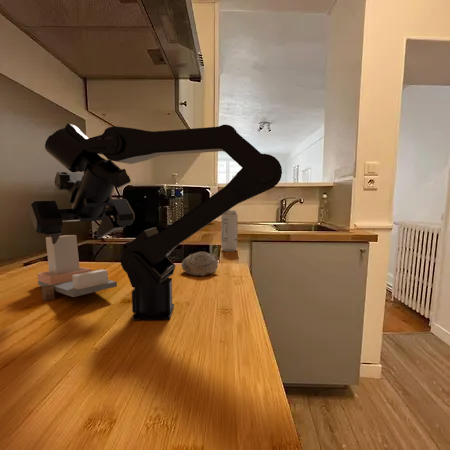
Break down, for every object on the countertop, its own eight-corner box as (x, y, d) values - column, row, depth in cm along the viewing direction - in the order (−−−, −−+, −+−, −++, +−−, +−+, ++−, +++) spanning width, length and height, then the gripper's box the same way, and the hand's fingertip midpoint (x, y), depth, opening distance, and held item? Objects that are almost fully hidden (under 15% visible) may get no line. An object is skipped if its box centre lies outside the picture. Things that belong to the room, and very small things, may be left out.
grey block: (80, 277, 71) (76, 235, 71) (57, 282, 68) (53, 237, 67) (72, 275, 75) (68, 235, 74) (49, 279, 71) (45, 237, 71)
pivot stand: (105, 286, 71) (105, 276, 71) (46, 301, 62) (45, 289, 62) (100, 284, 73) (100, 274, 73) (42, 298, 64) (41, 287, 63)
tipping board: (116, 286, 63) (115, 269, 63) (73, 297, 57) (71, 278, 57) (77, 277, 78) (75, 263, 77) (38, 284, 71) (36, 269, 71)
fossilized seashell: (172, 267, 83) (181, 243, 84) (193, 271, 92) (201, 249, 93) (203, 280, 78) (213, 254, 78) (222, 283, 87) (230, 260, 88)
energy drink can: (239, 251, 112) (239, 211, 110) (223, 252, 111) (223, 211, 109) (234, 248, 118) (235, 210, 116) (219, 249, 117) (219, 210, 115)
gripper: (126, 161, 66) (104, 209, 75) (27, 154, 53) (15, 214, 61) (147, 198, 62) (122, 245, 70) (45, 201, 48) (29, 258, 57)
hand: (76, 239), depth 65 cm, fingers open, 9 cm apart
